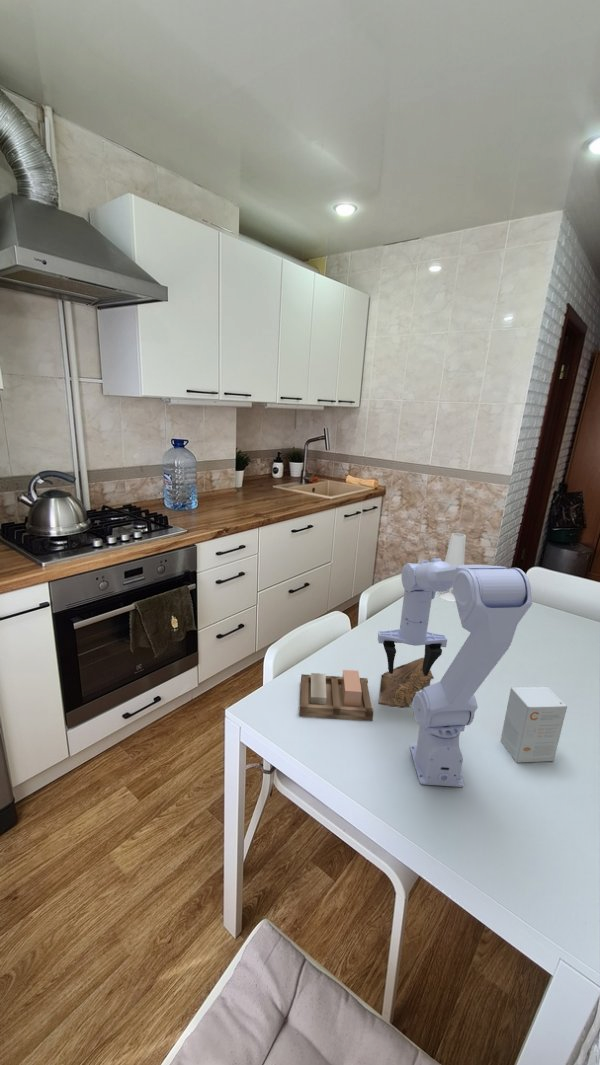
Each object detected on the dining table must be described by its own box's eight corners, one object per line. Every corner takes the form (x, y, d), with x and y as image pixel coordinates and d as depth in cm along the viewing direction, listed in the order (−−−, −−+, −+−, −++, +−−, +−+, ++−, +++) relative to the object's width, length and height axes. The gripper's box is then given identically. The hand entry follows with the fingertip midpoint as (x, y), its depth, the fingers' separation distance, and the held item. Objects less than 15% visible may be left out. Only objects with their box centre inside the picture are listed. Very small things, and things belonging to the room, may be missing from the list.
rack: (366, 687, 109) (367, 672, 108) (372, 721, 97) (374, 705, 96) (300, 683, 109) (301, 668, 108) (299, 716, 98) (300, 700, 96)
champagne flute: (456, 594, 166) (466, 532, 159) (460, 602, 159) (471, 538, 153) (438, 593, 167) (447, 531, 160) (441, 600, 160) (450, 536, 153)
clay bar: (359, 711, 99) (361, 691, 97) (343, 710, 99) (345, 690, 97) (356, 689, 106) (358, 670, 105) (341, 688, 106) (342, 669, 105)
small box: (535, 738, 95) (547, 685, 91) (554, 762, 89) (568, 706, 85) (498, 739, 94) (510, 686, 90) (515, 763, 88) (528, 707, 84)
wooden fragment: (401, 716, 100) (402, 712, 99) (359, 695, 106) (360, 691, 106) (447, 669, 119) (447, 665, 119) (409, 653, 125) (409, 650, 125)
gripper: (443, 610, 99) (435, 663, 103) (378, 606, 99) (372, 660, 103) (453, 625, 93) (444, 682, 96) (383, 621, 93) (376, 678, 97)
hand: (407, 672), depth 99 cm, fingers open, 7 cm apart
